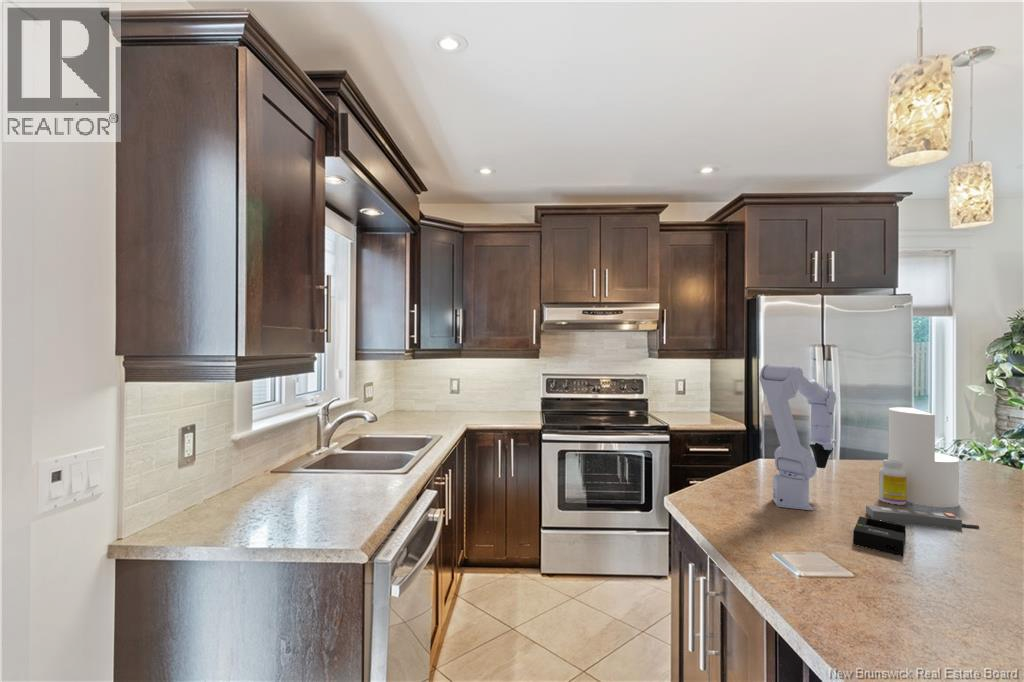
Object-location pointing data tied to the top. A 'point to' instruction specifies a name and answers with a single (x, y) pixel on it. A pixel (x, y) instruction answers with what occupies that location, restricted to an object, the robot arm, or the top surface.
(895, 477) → the supplement bottle
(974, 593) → the top surface
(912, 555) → the top surface
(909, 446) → the white stepped block
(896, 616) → the top surface
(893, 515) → the power strip
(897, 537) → the battery charger
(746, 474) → the top surface
